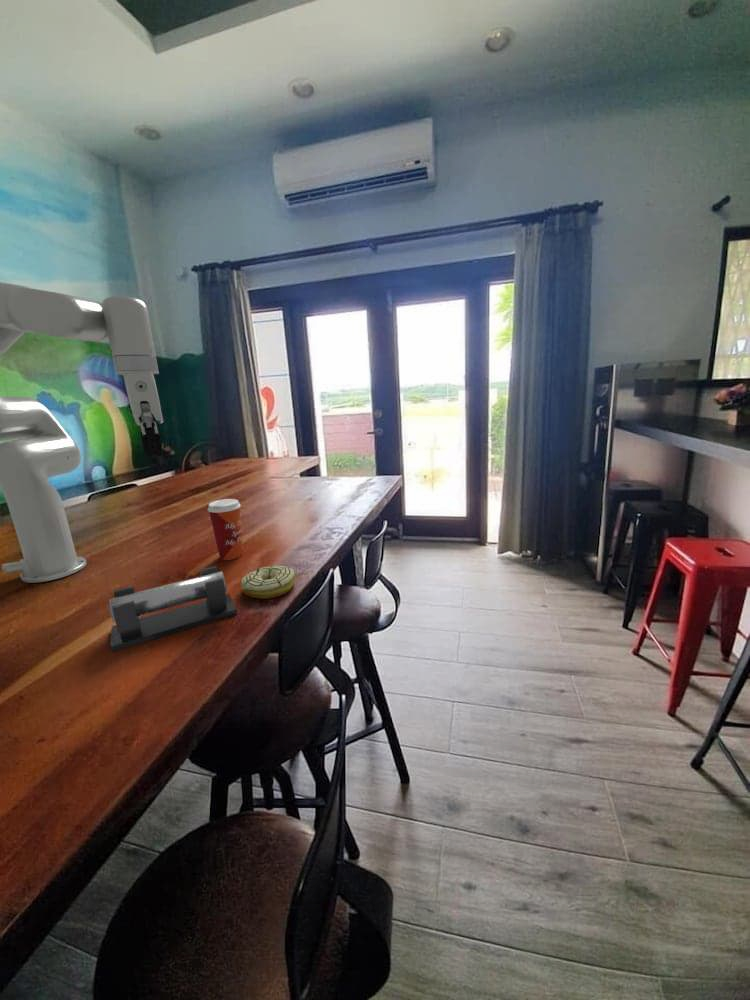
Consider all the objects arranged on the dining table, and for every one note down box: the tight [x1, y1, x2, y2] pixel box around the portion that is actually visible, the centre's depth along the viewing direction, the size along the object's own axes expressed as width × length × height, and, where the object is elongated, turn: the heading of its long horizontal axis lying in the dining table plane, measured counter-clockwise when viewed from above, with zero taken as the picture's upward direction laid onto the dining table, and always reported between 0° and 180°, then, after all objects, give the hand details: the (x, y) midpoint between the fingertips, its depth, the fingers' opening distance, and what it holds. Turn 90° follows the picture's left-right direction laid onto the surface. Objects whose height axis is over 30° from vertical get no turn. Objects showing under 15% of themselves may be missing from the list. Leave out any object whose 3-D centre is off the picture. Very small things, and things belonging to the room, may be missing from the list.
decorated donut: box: [240, 564, 296, 600], centre depth 84 cm, size 10×11×4 cm
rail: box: [108, 570, 227, 624], centre depth 72 cm, size 18×4×4 cm, turn 120°
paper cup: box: [207, 498, 244, 561], centre depth 101 cm, size 8×8×14 cm
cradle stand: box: [109, 565, 238, 653], centre depth 73 cm, size 20×7×8 cm, turn 120°
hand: (153, 452), depth 85 cm, fingers open, 9 cm apart
